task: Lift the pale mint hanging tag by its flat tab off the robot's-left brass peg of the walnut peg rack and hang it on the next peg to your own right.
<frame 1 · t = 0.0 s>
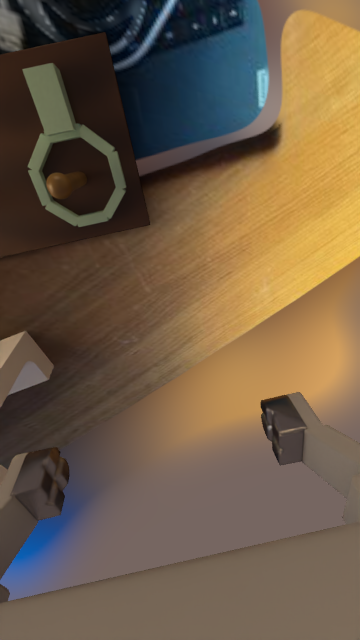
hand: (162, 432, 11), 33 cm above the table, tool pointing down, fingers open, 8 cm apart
hanging tag: (80, 178, 34), point 1 cm above the table, touching peg rack
peg rack: (18, 167, 34), on the table
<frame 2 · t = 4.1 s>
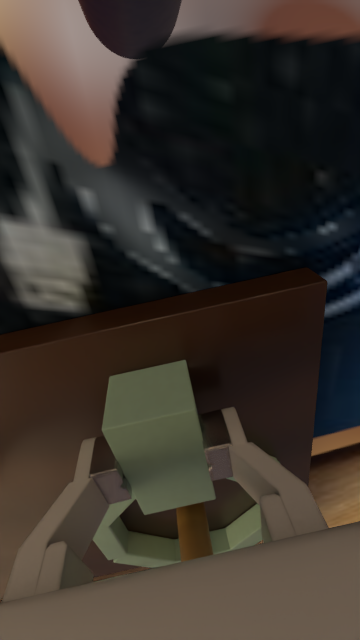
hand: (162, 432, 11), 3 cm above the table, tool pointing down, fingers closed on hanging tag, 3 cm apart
hanging tag: (189, 500, 16), point 2 cm above the table, touching gripper, peg rack
peg rack: (57, 477, 16), on the table
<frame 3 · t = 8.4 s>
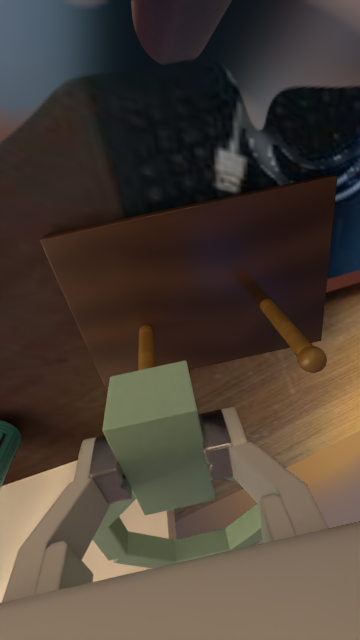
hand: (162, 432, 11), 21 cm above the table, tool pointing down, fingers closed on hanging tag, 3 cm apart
hanging tag: (189, 501, 16), point 20 cm above the table, touching gripper
peg rack: (200, 292, 32), on the table
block: (72, 478, 47), on the table
beverage bottle: (1, 425, 39), on the table
when the fingers open (2 cm above the table, at t = 12.9 s): hanging tag stays where it is, resting on peg rack.
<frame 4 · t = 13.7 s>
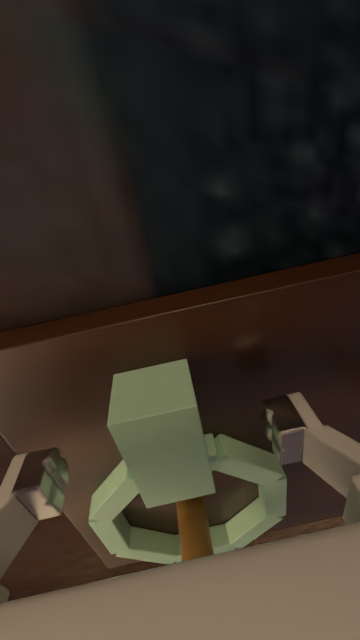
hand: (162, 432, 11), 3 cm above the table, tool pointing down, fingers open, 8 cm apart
hanging tag: (190, 496, 16), point 1 cm above the table, touching peg rack
peg rack: (296, 418, 16), on the table
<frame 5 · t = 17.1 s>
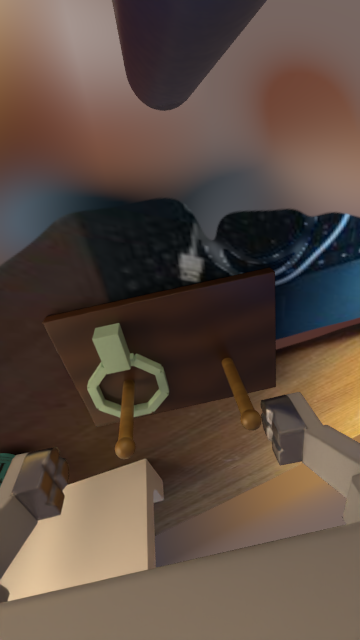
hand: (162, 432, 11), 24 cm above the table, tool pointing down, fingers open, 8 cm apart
hanging tag: (129, 384, 39), point 1 cm above the table, touching peg rack
peg rack: (173, 352, 39), on the table
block: (70, 497, 54), on the table
beverage bottle: (10, 455, 46), on the table
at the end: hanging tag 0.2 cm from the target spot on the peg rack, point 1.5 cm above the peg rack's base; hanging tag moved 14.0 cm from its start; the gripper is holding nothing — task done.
